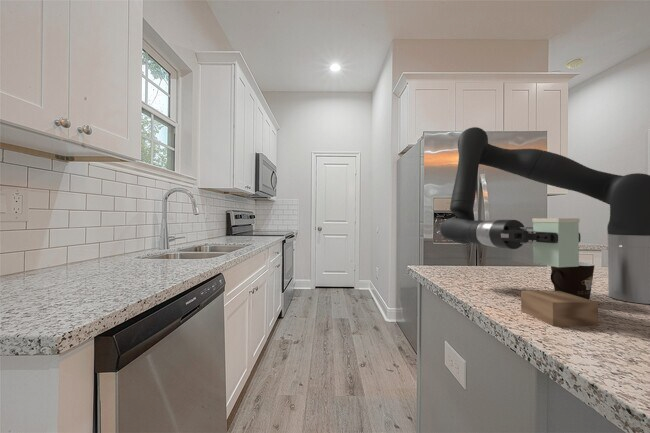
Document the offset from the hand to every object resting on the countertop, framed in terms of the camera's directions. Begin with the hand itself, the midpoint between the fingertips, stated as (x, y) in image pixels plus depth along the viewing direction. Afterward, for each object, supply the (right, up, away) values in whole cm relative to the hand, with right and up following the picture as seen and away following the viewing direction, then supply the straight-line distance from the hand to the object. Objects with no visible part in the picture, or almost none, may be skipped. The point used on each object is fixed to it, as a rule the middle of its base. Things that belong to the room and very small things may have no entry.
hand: (567, 237), depth 57 cm
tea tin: (-1, -6, +2) cm, 7 cm away
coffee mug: (+12, -18, +14) cm, 26 cm away
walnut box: (0, -18, +2) cm, 18 cm away
